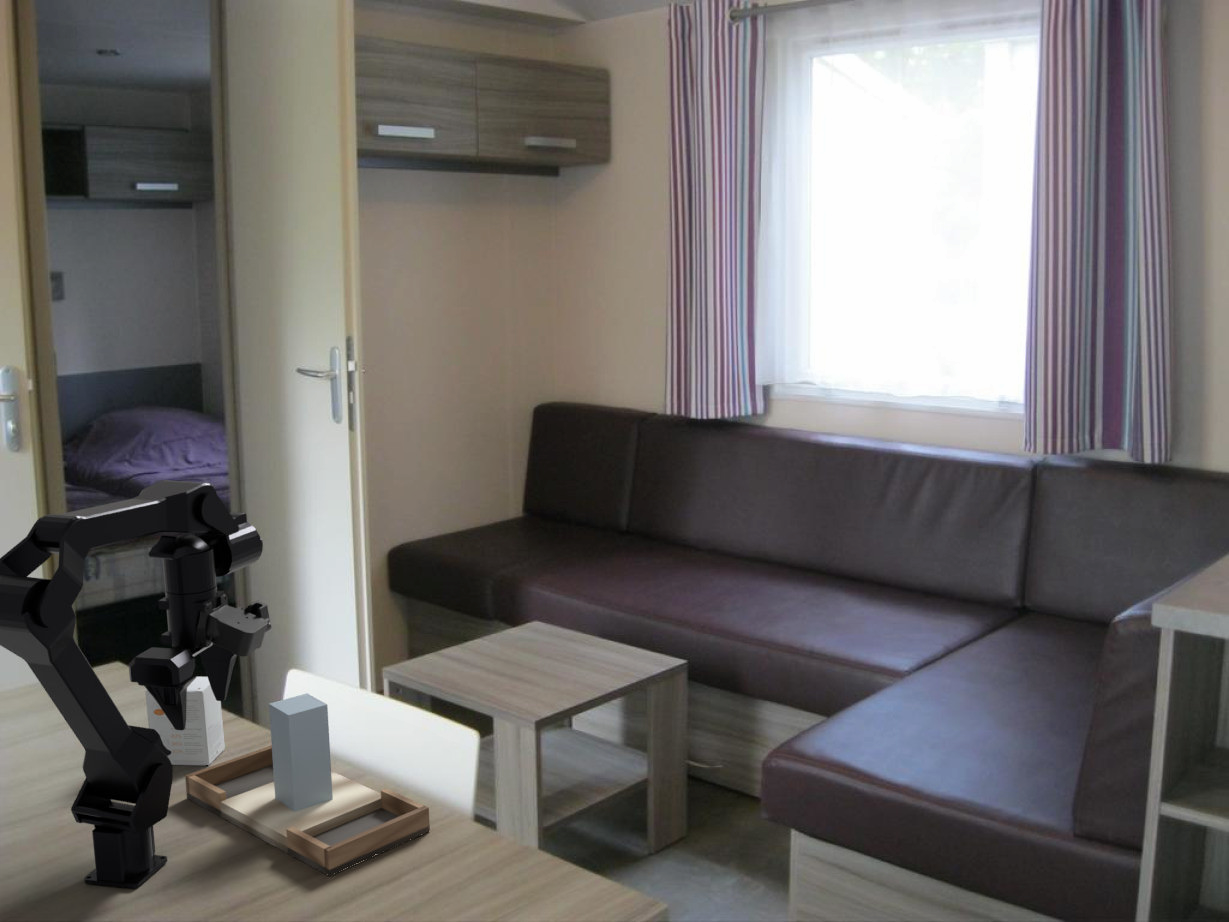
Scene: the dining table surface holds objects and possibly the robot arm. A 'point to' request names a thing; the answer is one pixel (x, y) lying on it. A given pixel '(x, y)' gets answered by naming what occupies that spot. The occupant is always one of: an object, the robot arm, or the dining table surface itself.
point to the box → (308, 813)
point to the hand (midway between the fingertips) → (201, 714)
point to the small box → (191, 726)
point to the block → (301, 751)
